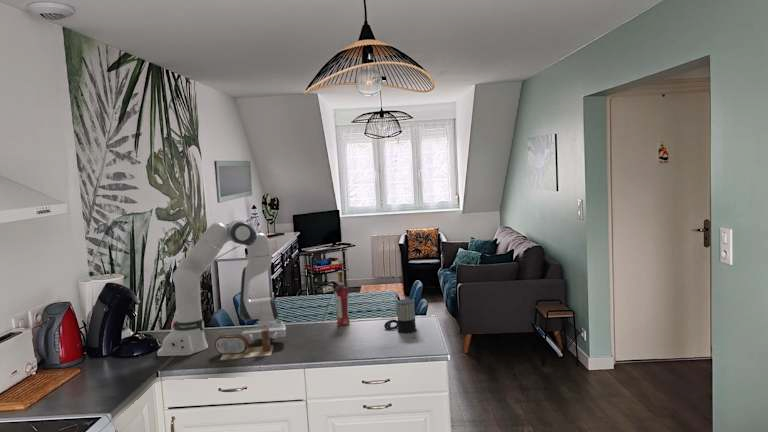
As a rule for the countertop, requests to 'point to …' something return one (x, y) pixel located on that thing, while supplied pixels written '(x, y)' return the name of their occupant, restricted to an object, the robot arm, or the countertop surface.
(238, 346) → the tin
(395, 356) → the countertop surface
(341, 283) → the liquor
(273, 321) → the robot arm
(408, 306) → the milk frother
